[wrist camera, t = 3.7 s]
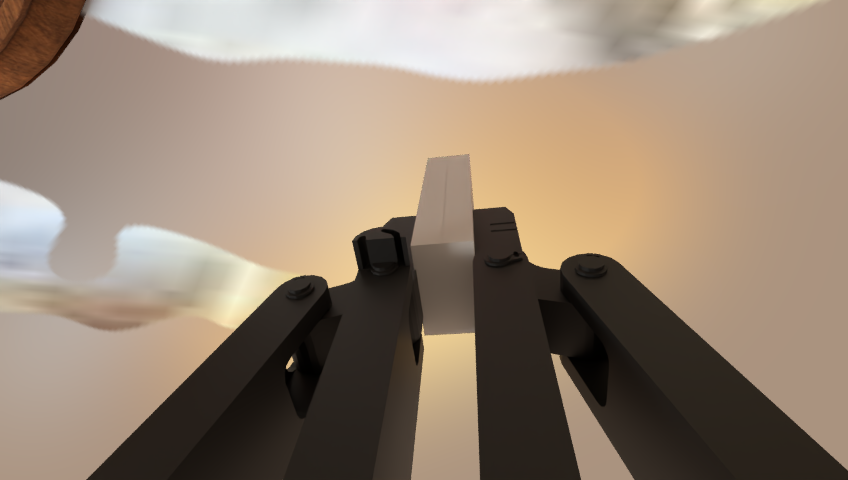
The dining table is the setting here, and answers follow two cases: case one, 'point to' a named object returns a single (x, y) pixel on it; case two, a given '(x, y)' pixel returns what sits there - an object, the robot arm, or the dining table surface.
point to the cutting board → (34, 38)
